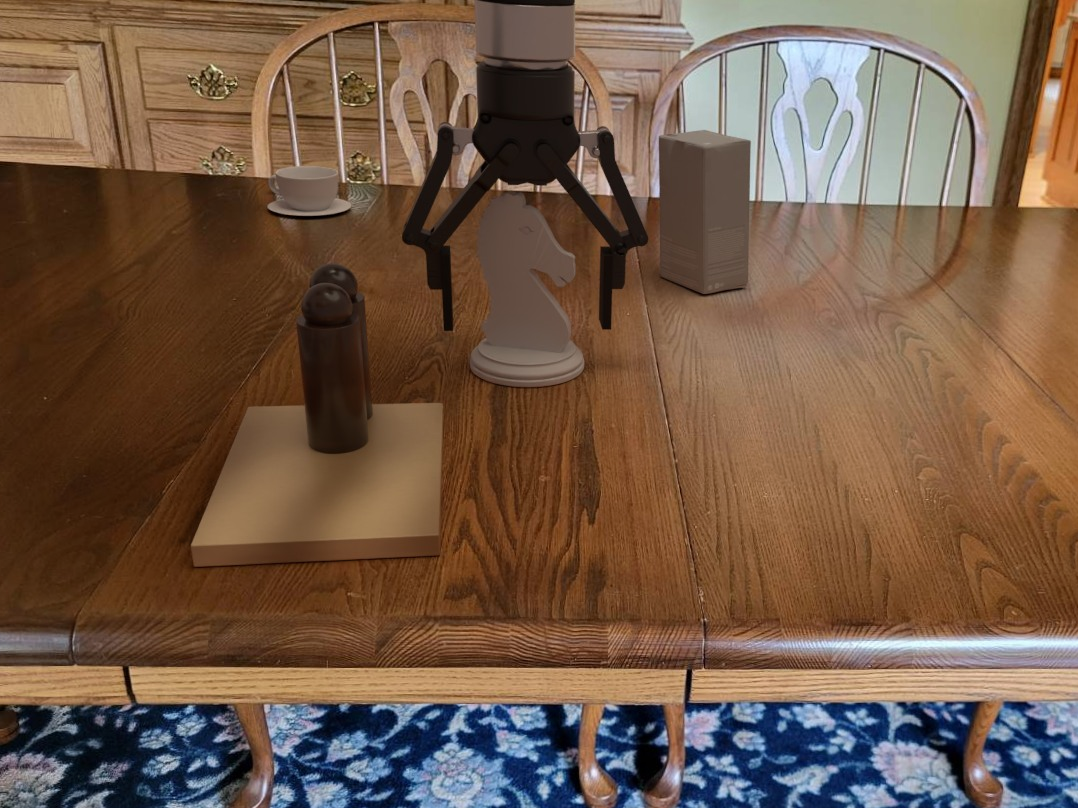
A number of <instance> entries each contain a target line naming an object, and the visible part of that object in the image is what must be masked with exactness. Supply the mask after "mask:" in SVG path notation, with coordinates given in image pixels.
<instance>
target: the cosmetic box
mask: <svg viewBox="0 0 1078 808" xmlns="http://www.w3.org/2000/svg"><path fill="white" fill-rule="evenodd" d="M751 145H752V141H751V140H750V139H746V138H741V137H736V136H731V135H727V134H723V133H718V132H716V131H715V132H714V131H711V130H707V129H701V130H693V131H691V130H690V131H684V132H675V133H668V134H660V135H659V136H658V183H659V185H658V186H659V190H658V191H659V193H658V194H659V195H658V196H659V197H658V198H659V277H661V278H663V279H666V280H668V281H670V282H673V283H675V284H677V285H680V286H683V287H684V288H688V289H689V290H692V291H695V292H698V293H700V294H702V295H707V294H713V293H717V292H723V291H727V290H735V289H741V288H747V286H748V284H749V249H750V247H749V246H750V203H751V202H750V200H751V199H750V194H751V148H752V147H751Z"/></svg>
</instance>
